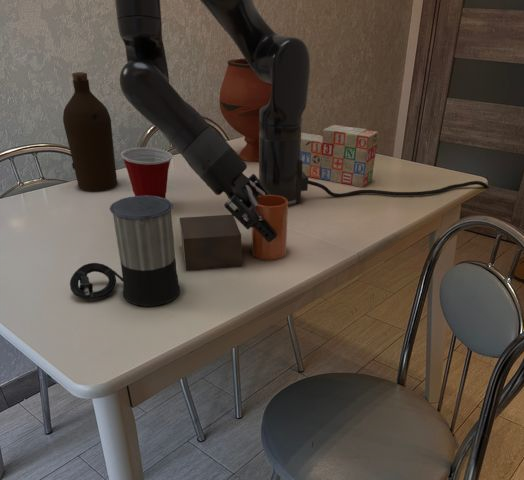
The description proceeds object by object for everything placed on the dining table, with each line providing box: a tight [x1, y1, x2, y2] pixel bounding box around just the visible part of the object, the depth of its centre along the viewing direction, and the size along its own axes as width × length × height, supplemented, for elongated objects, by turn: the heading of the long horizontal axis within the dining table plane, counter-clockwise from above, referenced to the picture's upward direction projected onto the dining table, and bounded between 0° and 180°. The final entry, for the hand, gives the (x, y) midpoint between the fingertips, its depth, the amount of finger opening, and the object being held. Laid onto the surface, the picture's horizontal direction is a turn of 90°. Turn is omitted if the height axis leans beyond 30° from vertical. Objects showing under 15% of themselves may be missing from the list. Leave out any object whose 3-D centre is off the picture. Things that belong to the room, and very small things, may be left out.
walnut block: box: [179, 214, 243, 271], centre depth 97 cm, size 10×10×6 cm
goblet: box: [218, 57, 272, 162], centre depth 147 cm, size 19×19×25 cm
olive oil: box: [62, 71, 118, 192], centre depth 125 cm, size 11×11×25 cm
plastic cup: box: [120, 147, 173, 199], centre depth 116 cm, size 11×11×12 cm
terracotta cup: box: [251, 195, 289, 261], centre depth 98 cm, size 6×6×10 cm
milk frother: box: [69, 195, 181, 307], centre depth 83 cm, size 14×16×15 cm
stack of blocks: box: [300, 124, 379, 188], centre depth 136 cm, size 21×6×12 cm, turn 59°
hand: (277, 231), depth 98 cm, fingers closed on terracotta cup, 6 cm apart
